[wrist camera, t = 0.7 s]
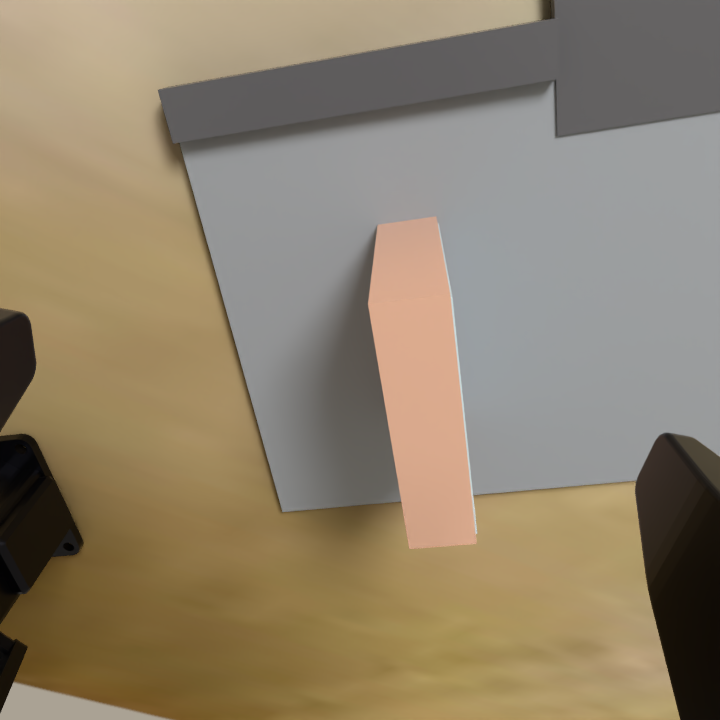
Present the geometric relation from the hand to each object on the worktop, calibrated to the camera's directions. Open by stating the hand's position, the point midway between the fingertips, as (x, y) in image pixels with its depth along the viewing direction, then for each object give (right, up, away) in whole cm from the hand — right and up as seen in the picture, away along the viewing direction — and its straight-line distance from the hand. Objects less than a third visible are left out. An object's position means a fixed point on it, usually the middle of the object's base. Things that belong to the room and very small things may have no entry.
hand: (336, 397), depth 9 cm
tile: (+3, +2, +14) cm, 15 cm away
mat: (+5, +2, +14) cm, 15 cm away
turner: (+4, +10, +11) cm, 15 cm away
